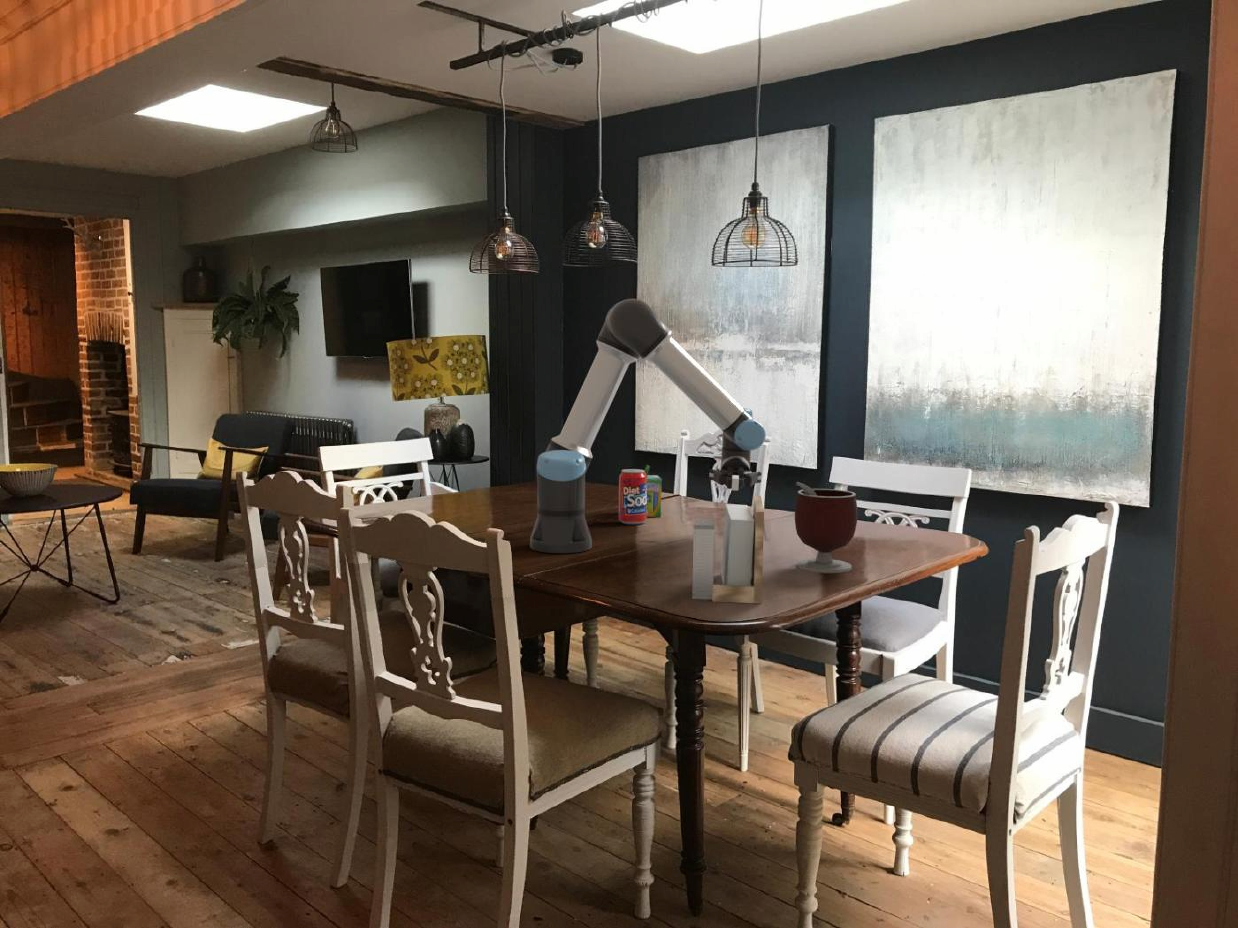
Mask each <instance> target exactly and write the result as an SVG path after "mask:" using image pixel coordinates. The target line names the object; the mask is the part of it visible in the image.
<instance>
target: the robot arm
mask: <svg viewBox="0 0 1238 928" xmlns="http://www.w3.org/2000/svg"><path fill="white" fill-rule="evenodd" d="M604 320H605V321H604V324H603V326H602V328H601V330H600V332H599V334H598V336H597V338H596V346H597V348H598V351H597V353H596V355H595V357H594V360H593V362H592V364H591V366H590V368H589V370H588V373H587V375H586V377H585V378H584V381H583V384H582V385H581V388H580V390H579V392H578V395H577V396H576V399H575V401H574V403H573V406H572V407H571V410H570V412H569V414H568V416H567V419H566V421H565V423H564V425H563V428H562V429H561V432H560V434H558V435H556V436H554V437H552V438H551V440H550V441H549V443H548V446H547V448H546V450H545V452H542V453H541V454H539V455H538V457H537V463H536V478H537V479H536V480H537V489H536V491H537V493H536V495H537V497H536V499H537V507H536V508H537V512H536V513H537V514H536V516H537V517H536V520H535V523H534V526H533V529H532V531H531V535H530V540H529V548H530V549H531V550H534V551H536V552H541V553H549V554H572V553H573V554H574V553H581V552H582V553H583V552H587V551H589V550H591V549H592V548H593V547H592V546H593V545H592V542H593V539H592V535H591V533H590V529H589V526H588V523H587V520H586V515H585V514H586V511H585V510H586V508H585V507H586V502H585V501H586V473H587V471H588V468H589V466H590V464H591V461H592V459H593V454H592V451H591V448H592V446H593V443H594V442H595V439H596V437H597V435H598V433H599V431H600V428H601V426H602V424H603V422H604V420H605V417H606V415H607V413H608V411H609V409H610V407H611V404H612V402H613V401H614V398H615V396H616V394H617V391H618V389H619V387H620V385H621V383H622V380H624V379H623V378H624V376H625V374H626V372H627V371H628V368H629V365H630V364H633V363H635V362H637V361H638V360H639V358H640V357H641V359H642V360H648V361H650V362H651V363H653V364H654V365H655V367H656V368H658V370H660V371H661V372H662V374H664V375H665V377H667V378H668V379H669V380H670V381H671V382H672V383H673V384H674V385H675V386H676V387H677V388H678V389H679V390H680V391H681V392H682V393H683V394H684V395H685V396H686V397H687V398H688V399H690V401H691V402H693V404H695V405H696V407H697V408H699V409H700V410H701V412H703V413H704V414H705V415H706V416H707V417H708V418H709V419H710V421H712V422H713V423H714V425H716V426H717V427H718V428H719V429H720V430H721V431H722V438H721V439H722V441H721V443H722V444H721V445H722V447H721V459H720V461H721V462H720V469H719V470H718V469H717V470H716V469H713V468H711V469H709V473H708V474H709V477H708V478H709V479H708V480H710V481H713V482H715V483H716V484H718V485H720V486H724V485H725V487H726V489H727V490H731V491H738V492H739V489H742V488H743V487H747V488H749V487H750V488H751V487H752V486H754V485H756V484H760V483H762V476H763V475H762V474H763V472H761V471H756V472H755V471H754V472H752V471H751V454H752V453H751V452H752V451H755V450H758V449H759V448H761V447H762V446H763V444H764V442H765V440H766V437H767V436H766V430H765V428H764V426H763V425H762V423H760V421H758V420H755V419H754V417H753V416H754V415H753V410H752V409H751V408H747V407H745V408H744V407H742V406H741V404H740V403H739V402H737V401H736V399H734V397H732V396H731V395H730V394H729V393H728V391H726V390H725V389H724V388H723V387H722V385H720V383H718V382H717V381H716V380H715V379H714V378H713V377H712V375H710V374H709V373H708V371H706V370H705V369H704V367H702V366H701V365H700V364H699V363H698V362H697V361H696V359H694V358H693V357H692V356H691V355H690V354H689V353H688V352H687V351H686V350H685V349H684V348H683V347H682V346H681V345H680V344H679V343H678V342H677V341H676V340H675V339H674V338H673V337H672V330H671V329H670V328H669V327H668V326H667V325H666V324H665V323H664V322H663V321H662V320H661V318H660V317H659V316H658V315H657V313H656V312H655V311H654V310H653V309H652V307H651V306H650V305H649V304H647V302H645V301H643V300H641V299H637V298H627V299H624V300H621V301H619V302H617V303H615V304H613V306H611V308H610V309H609V310H608V312H607V313H606V316H605V319H604Z"/></svg>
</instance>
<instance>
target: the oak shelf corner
mask: <svg viewBox="0 0 1238 928" xmlns="http://www.w3.org/2000/svg"><path fill="white" fill-rule="evenodd" d="M752 503H753V510H752V511H753V513H752V516H753V518H754V520H755V522H754V539H753V556H752V572H751V586H735V585H723V584H713V600H712V602H715V603H716V602H719V603H720V602H721V603H742V604H762V599H763V568H764V567H763V563H764V536H765V535H764V533H765V532H764V529H765V510H764V509H765V508H764V505H763V500H762V495H758V494H756V495H755V494H754V495H753V502H752Z"/></svg>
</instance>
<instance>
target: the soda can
mask: <svg viewBox="0 0 1238 928" xmlns="http://www.w3.org/2000/svg"><path fill="white" fill-rule="evenodd" d="M647 518H648V517H647V476H646V474H645V469H639V468H638V469H636V468H632V469H631V468H629V469H622V470H621V473H620V474H619V476H618V520H619V522H621V524H625V525H628V526H629V525H635V526H636V525H642V524H643V523H645V522H646V521H647Z"/></svg>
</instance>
